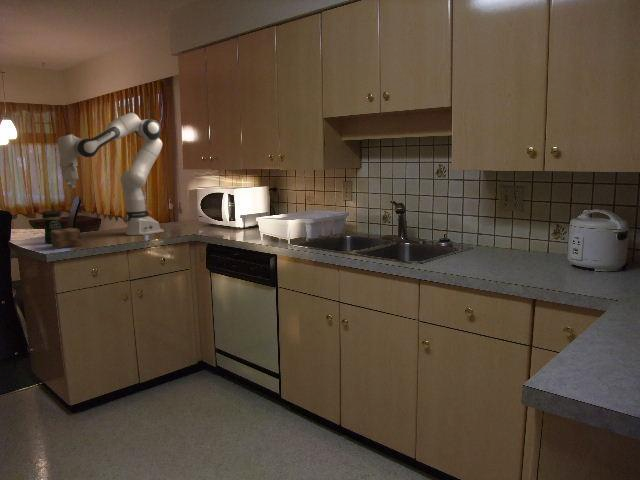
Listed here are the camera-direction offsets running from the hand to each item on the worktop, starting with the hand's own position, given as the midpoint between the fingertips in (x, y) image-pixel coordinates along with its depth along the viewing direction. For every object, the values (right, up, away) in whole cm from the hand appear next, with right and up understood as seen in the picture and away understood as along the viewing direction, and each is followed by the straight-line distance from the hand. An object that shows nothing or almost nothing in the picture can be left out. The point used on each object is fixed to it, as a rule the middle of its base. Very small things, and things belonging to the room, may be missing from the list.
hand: (71, 187), depth 288 cm
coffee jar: (-12, -32, +4) cm, 34 cm away
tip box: (+3, -33, -11) cm, 35 cm away
